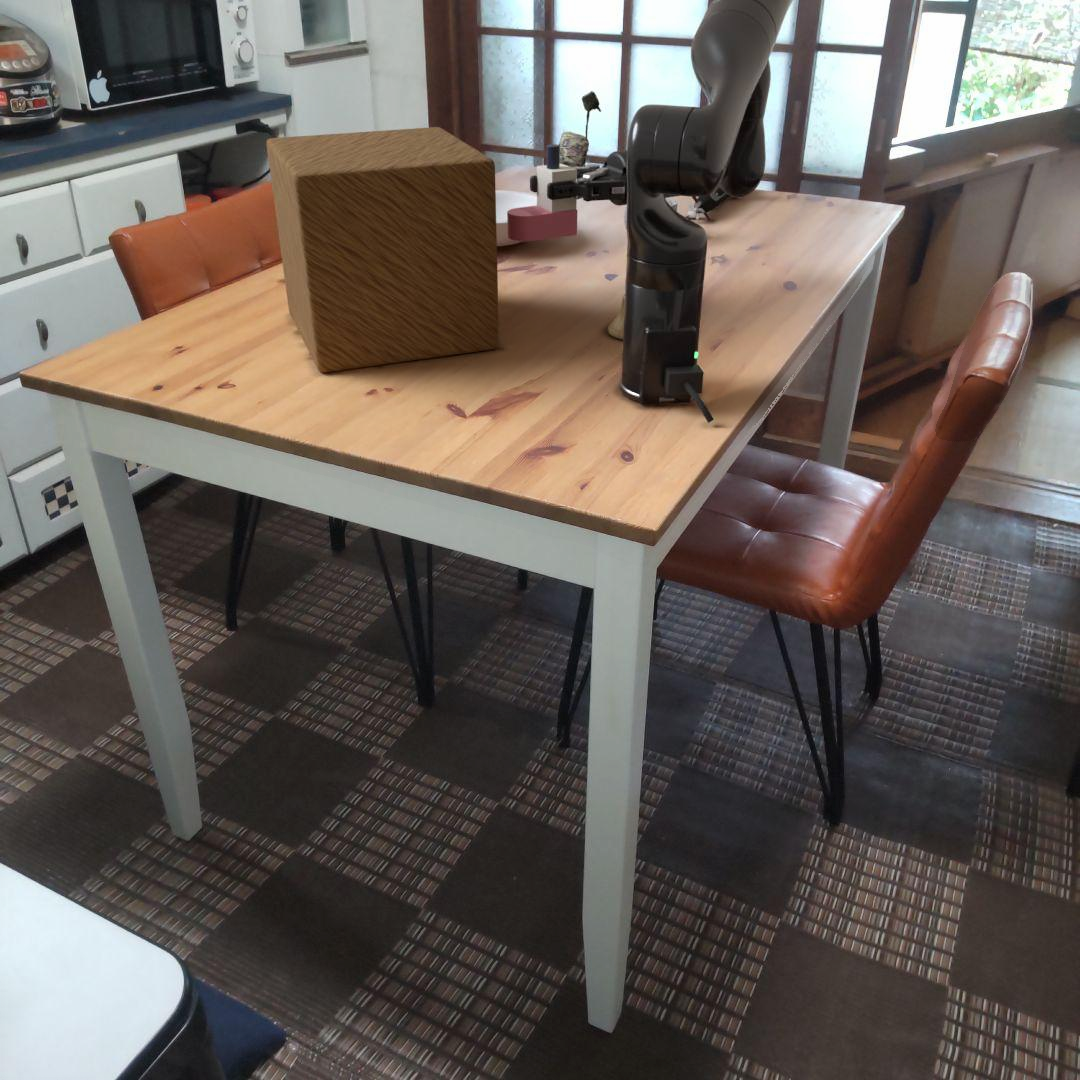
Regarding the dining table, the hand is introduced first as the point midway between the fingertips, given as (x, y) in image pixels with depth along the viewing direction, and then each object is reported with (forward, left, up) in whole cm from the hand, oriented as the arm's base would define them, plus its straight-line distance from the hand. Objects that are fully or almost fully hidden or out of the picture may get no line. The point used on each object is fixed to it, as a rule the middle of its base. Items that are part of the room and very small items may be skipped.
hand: (540, 187), depth 143 cm
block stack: (0, 0, -6) cm, 7 cm away
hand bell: (-10, -13, -18) cm, 24 cm away
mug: (+38, -26, -18) cm, 49 cm away
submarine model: (+59, -46, -18) cm, 77 cm away
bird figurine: (+75, -19, -18) cm, 79 cm away
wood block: (-5, +22, -18) cm, 29 cm away
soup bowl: (+39, +3, -18) cm, 43 cm away
